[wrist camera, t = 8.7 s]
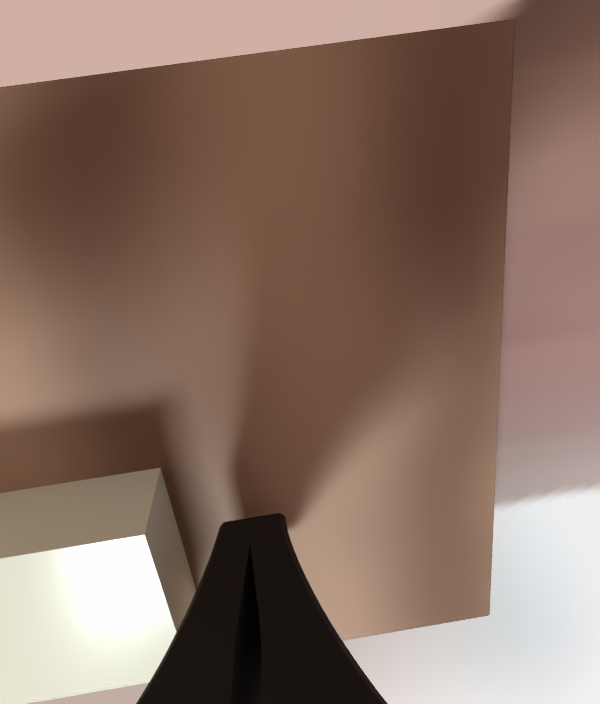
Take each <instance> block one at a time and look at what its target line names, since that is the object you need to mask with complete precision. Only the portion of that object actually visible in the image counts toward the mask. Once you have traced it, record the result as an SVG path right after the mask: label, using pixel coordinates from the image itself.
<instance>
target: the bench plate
mask: <svg viewBox="0 0 600 704" xmlns="http://www.w3.org/2000/svg"><path fill="white" fill-rule="evenodd" d="M514 31H515V19H512V20H504V21H497V22H489V23H482V24H474V25H466V26H460V27H451V28H444V29H436V30H429V31H421V32H414V33H407V34H399V35H391V36H384V37H376V38H369V39H361V40H354V41H346V42H339V43H331V44H324V45H316V46H309V47H301V48H293V49H286V50H279V51H271V52H263V53H256V54H248V55H241V56H234V57H226V58H218V59H211V60H203V61H196V62H188V63H181V64H173V65H165V66H158V67H151V68H143V69H135V70H128V71H121V72H113V73H105V74H98V75H90V76H83V77H75V78H68V79H60V80H53V81H45V82H37V83H30V84H22V85H15V86H7V87H0V493H5V492H11V491H17V490H24V489H30V488H36V487H42V486H49V485H55V484H61V483H67V482H74V481H80V480H86V479H92V478H99V477H105V476H111V475H118V474H124V473H130V472H136V471H143V470H149V469H155V468H161V471H162V475H163V478H164V482H165V485H166V489H167V492H168V495H169V499H170V502H171V506H172V509H173V513H174V516H175V519H176V523H177V526H178V530H179V533H180V537H181V540H182V543H183V547H184V550H185V554H186V557H187V561H188V564H189V567H190V571H191V574H192V578H193V581H194V585H195V588H196V590H197V588H198V585H199V583H200V581H201V578H202V576H203V573H204V571H205V568H206V566H207V563H208V561H209V558H210V555H211V553H212V550H213V547H214V544H215V541H216V538H217V535H218V531H219V528H220V526H221V525H222V524H223V523H224V522H227V521H234V520H240V519H246V518H252V517H258V516H264V515H270V514H276V513H281V514H282V515H284V516H285V518H286V523H287V529H288V533H289V536H290V540H291V543H292V545H293V548H294V551H295V553H296V556H297V558H298V561H299V563H300V565H301V567H302V570H303V572H304V574H305V576H306V578H307V580H308V582H309V584H310V586H311V588H312V590H313V592H314V594H315V596H316V597H317V599H318V601H319V603H320V605H321V607H322V608H323V610H324V612H325V613H326V615H327V617H328V619H329V620H330V622H331V624H332V625H333V627H334V629H335V630H336V632H337V633H338V635H339V637H340V638H341V640H342V641H344V640H349V639H355V638H360V637H367V636H372V635H378V634H384V633H390V632H396V631H401V630H407V629H412V628H419V627H424V626H430V625H436V624H442V623H448V622H453V621H459V620H465V619H471V618H476V617H482V616H488V615H489V612H490V589H491V566H492V542H493V519H494V497H495V473H496V450H497V427H498V404H499V380H500V357H501V334H502V310H503V287H504V264H505V241H506V217H507V194H508V171H509V147H510V124H511V101H512V78H513V54H514Z"/></svg>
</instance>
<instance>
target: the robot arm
mask: <svg viewBox="0 0 600 704" xmlns="http://www.w3.org/2000/svg"><path fill="white" fill-rule="evenodd" d="M136 704H387V702H386V701H385V700H384V699H383V697H382V696H381V695H380V694H379V692H378V691H377V690H376V689H375V687H374V686H373V684H372V683H371V682H370V680H369V679H368V678H367V676H366V675H365V674H364V672H363V671H362V669H361V668H360V667H359V665H358V664H357V662H356V661H355V660H354V658H353V656H352V655H351V653H350V652H349V650H348V649H347V648H346V646H345V644H344V643H343V641H342V640H341V638H340V637H339V635H338V633H337V632H336V630H335V629H334V627H333V625H332V624H331V622H330V620H329V619H328V617H327V615H326V613H325V612H324V610H323V608H322V607H321V605H320V603H319V601H318V599H317V597H316V596H315V594H314V592H313V590H312V588H311V586H310V584H309V582H308V580H307V578H306V576H305V574H304V572H303V570H302V567H301V565H300V563H299V561H298V558H297V556H296V553H295V551H294V548H293V545H292V543H291V540H290V536H289V533H288V529H287V523H286V518H285V516H284V515H282V514H281V513H276V514H270V515H264V516H258V517H252V518H246V519H240V520H234V521H227V522H224V523H223V524H222V525H221V526H220V528H219V531H218V535H217V538H216V541H215V544H214V547H213V550H212V553H211V555H210V558H209V561H208V563H207V566H206V568H205V571H204V573H203V576H202V578H201V581H200V583H199V585H198V588H197V590H196V592H195V594H194V597H193V599H192V601H191V604H190V606H189V608H188V610H187V612H186V614H185V616H184V618H183V620H182V622H181V624H180V626H179V628H178V630H177V632H176V634H175V636H174V638H173V640H172V642H171V644H170V646H169V648H168V650H167V652H166V654H165V656H164V657H163V659H162V661H161V663H160V665H159V666H158V668H157V670H156V672H155V673H154V675H153V677H152V679H151V680H150V682H149V684H148V686H147V687H146V689H145V690H144V692H143V694H142V695H141V697H140V699H139V700H138V702H137V703H136Z"/></svg>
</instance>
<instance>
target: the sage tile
mask: <svg viewBox="0 0 600 704" xmlns="http://www.w3.org/2000/svg"><path fill="white" fill-rule="evenodd" d="M195 592H196V588H195V585H194V581H193V578H192V574H191V571H190V567H189V564H188V561H187V557H186V554H185V550H184V547H183V543H182V540H181V537H180V533H179V530H178V526H177V523H176V519H175V516H174V513H173V509H172V506H171V502H170V499H169V495H168V492H167V489H166V485H165V482H164V478H163V475H162V471H161V468H155V469H149V470H143V471H136V472H130V473H124V474H118V475H111V476H105V477H99V478H92V479H86V480H80V481H74V482H67V483H61V484H55V485H49V486H42V487H36V488H30V489H24V490H17V491H11V492H5V493H0V704H27V703H33V702H39V701H45V700H51V699H56V698H62V697H68V696H73V695H79V694H85V693H90V692H96V691H102V690H108V689H114V688H120V687H125V686H131V685H137V684H143V683H149V682H150V680H151V679H152V677H153V675H154V673H155V672H156V670H157V668H158V666H159V665H160V663H161V661H162V659H163V657H164V656H165V654H166V652H167V650H168V648H169V646H170V644H171V642H172V640H173V638H174V636H175V634H176V632H177V630H178V628H179V626H180V624H181V622H182V620H183V618H184V616H185V614H186V612H187V610H188V608H189V606H190V604H191V601H192V599H193V597H194V594H195Z"/></svg>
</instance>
